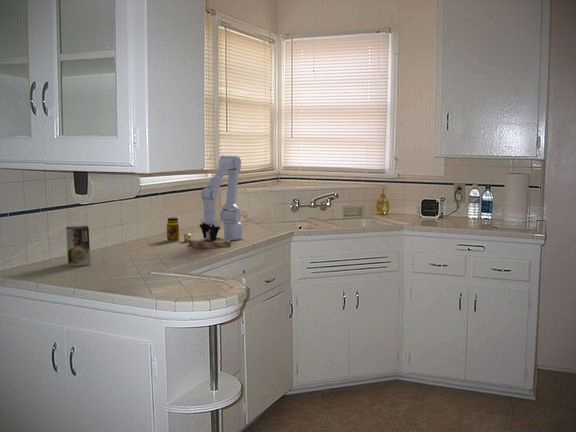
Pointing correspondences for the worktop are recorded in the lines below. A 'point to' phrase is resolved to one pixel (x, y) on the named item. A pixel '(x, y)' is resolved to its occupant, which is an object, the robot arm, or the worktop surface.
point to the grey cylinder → (208, 236)
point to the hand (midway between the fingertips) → (209, 239)
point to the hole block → (209, 243)
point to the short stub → (187, 237)
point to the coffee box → (78, 245)
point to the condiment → (172, 230)
